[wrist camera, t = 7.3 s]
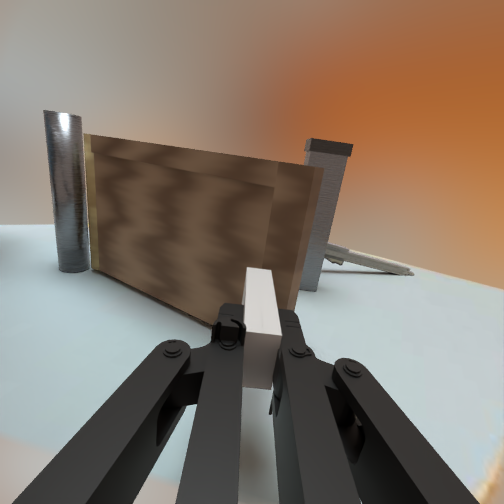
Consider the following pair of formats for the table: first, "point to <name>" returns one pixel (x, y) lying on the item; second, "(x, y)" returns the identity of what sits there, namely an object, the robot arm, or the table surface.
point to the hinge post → (68, 189)
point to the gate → (197, 221)
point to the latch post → (323, 202)
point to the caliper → (362, 260)
